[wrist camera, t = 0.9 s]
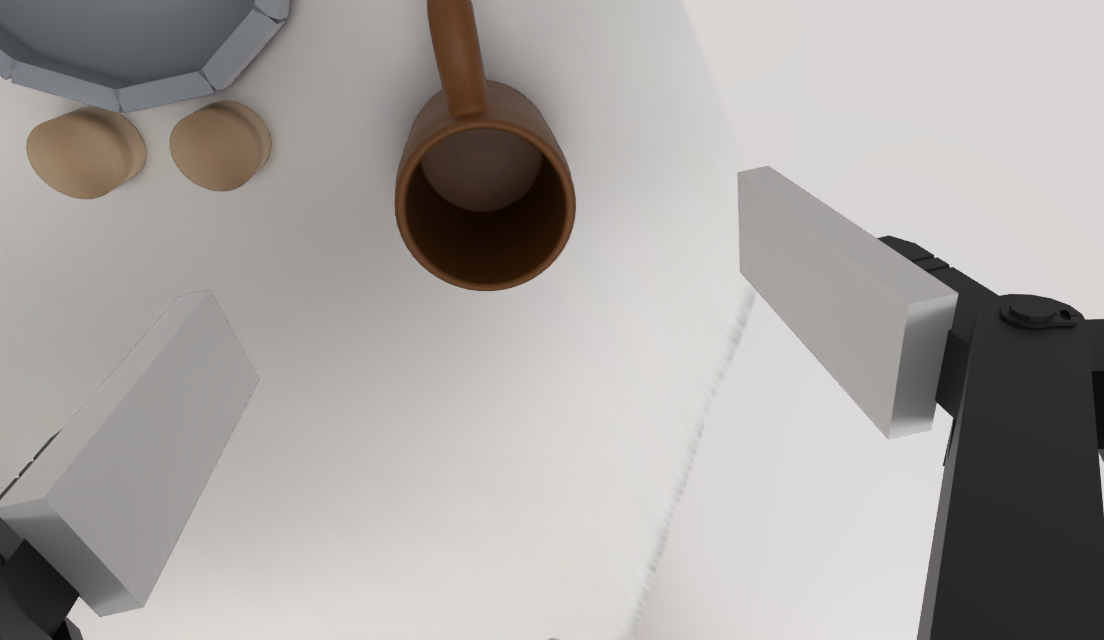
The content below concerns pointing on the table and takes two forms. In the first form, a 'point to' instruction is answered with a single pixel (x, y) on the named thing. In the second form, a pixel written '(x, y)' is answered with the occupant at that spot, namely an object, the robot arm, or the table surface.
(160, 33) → the saucer
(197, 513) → the table surface
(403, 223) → the mug
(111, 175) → the bead
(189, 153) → the bead
